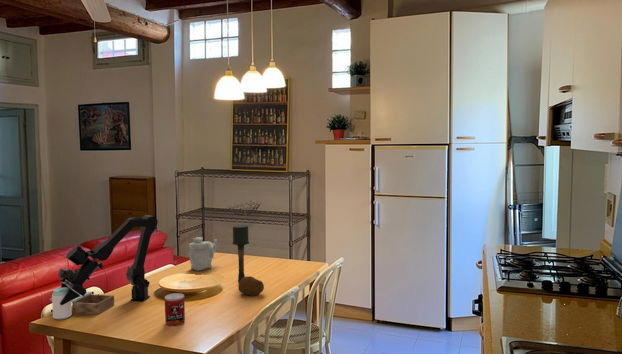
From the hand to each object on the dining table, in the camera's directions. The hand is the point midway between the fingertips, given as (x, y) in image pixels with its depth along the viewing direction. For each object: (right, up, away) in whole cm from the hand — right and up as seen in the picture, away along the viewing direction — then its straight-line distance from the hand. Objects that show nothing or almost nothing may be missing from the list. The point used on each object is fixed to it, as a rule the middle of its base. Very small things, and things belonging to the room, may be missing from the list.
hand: (58, 302), depth 199 cm
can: (+1, -7, +1) cm, 7 cm away
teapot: (+43, -1, +80) cm, 91 cm away
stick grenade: (+70, -3, +47) cm, 84 cm away
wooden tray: (+10, -6, +11) cm, 16 cm away
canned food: (+51, -7, -6) cm, 51 cm away
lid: (-1, -1, +13) cm, 13 cm away
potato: (+76, -4, +29) cm, 82 cm away
